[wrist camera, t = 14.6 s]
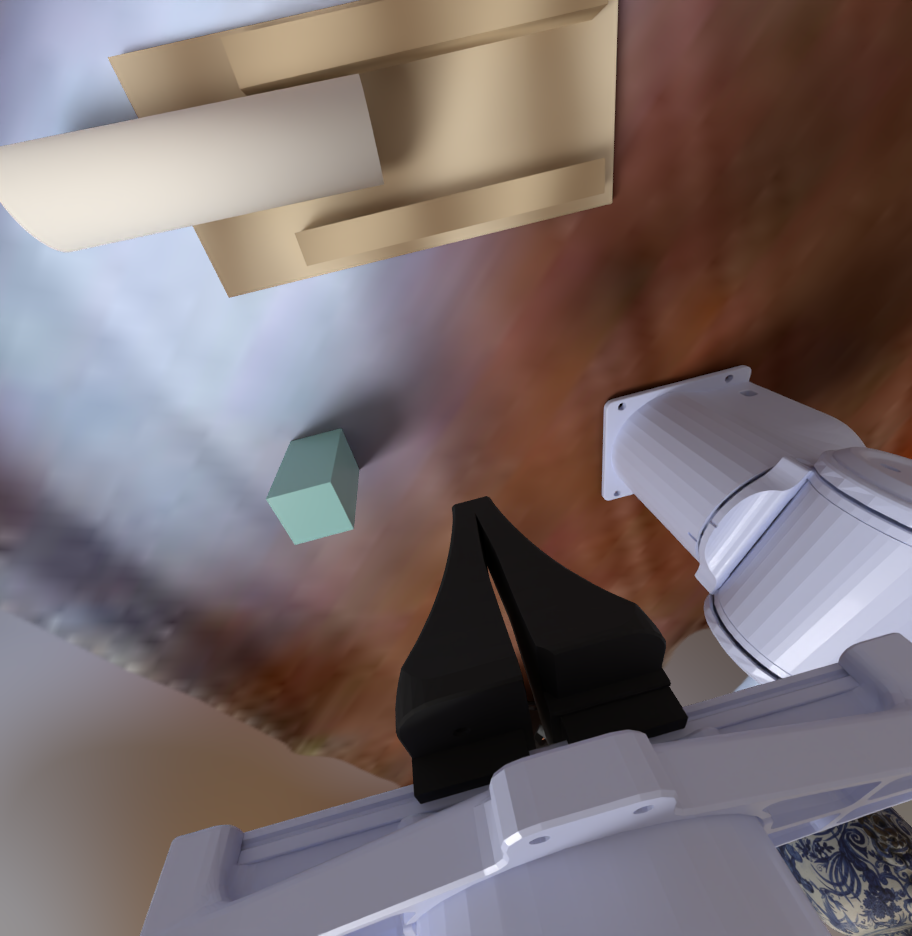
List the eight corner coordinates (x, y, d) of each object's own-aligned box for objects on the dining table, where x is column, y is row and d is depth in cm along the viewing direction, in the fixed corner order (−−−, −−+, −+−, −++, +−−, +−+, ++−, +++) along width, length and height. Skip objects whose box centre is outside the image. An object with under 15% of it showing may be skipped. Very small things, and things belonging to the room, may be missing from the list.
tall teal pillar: (341, 427, 22) (330, 482, 17) (359, 469, 23) (353, 529, 19) (290, 441, 22) (265, 499, 17) (312, 482, 23) (295, 544, 19)
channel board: (612, -50, 13) (639, -83, 12) (606, 203, 18) (626, 201, 16) (116, 63, 13) (84, 42, 12) (232, 295, 17) (219, 302, 16)
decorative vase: (784, 758, 74) (967, 1003, 50) (698, 775, 71) (848, 1041, 48) (842, 703, 62) (1116, 988, 39) (742, 722, 60) (968, 1036, 37)
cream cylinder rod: (365, 109, 15) (353, 48, 12) (386, 197, 15) (379, 160, 13) (52, 174, 14) (-41, 126, 11) (92, 261, 15) (16, 237, 12)
